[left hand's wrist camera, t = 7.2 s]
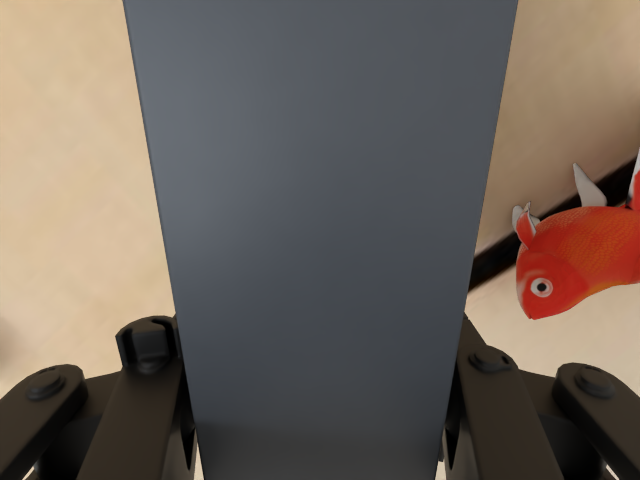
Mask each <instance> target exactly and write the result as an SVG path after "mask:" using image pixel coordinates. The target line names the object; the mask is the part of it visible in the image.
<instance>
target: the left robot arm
mask: <svg viewBox="0 0 640 480" xmlns="http://www.w3.org/2000/svg"><path fill="white" fill-rule="evenodd" d="M115 337H116V341H117V345H118V349H119V353H120V357H121V361H122V365H123V367H122V369H121V371H118V372H115V373H111V374H107V375H102V376H98V377H93V378H88V379H85V378H84V374H83V371H82V370H81V369H80V368H79V367H78V366H75V365H70V364H64V365H56V366H52V367H49V368H45V369H42V370H40V371H38V372H36V373H34V374H32V375H30V376H28V377H26V378H25V379H24V380H22V381H21V382H20V383H18V384H17V385H16V386H15V387H13V388H12V389H11V390H10V391H9V392H8V393H7V394H6V395H5V396H4V397H3V398H1V399H0V480H22V479H23V478H24V477H25V475H26V474H27V473H28V472H29V470H30V469H31V468H32V467H34V470H33V471H32V473H31V474H30V475H29V476H28V477H27V478H26V479H25V480H194V472H195V462H196V452H197V442H198V441H197V435H196V429H195V423H194V418H193V412H192V406H191V400H190V394H189V388H188V382H187V376H186V370H185V365H184V359H183V353H182V347H181V341H180V335H179V329H178V323H177V317H176V314H175V315H174V317H173V318H172V317H168V316H150V317H145V318H141V319H139V320H136V321H134V322H131V323H129V324H128V325H126V326H125V327H123V328H122V329H121V330H120V331H119V332H118V333H117V334H116V336H115ZM443 460H444V461H445V471H446V480H616V479H615V478H614V477H613V476H612V475H611V473H610V472H609V471H608V470H607V468H606V466H607V464H608V466H609V467H610V468H611V469H612V471H613V472H614V473H615V474H616V475H617V477H618V478H619V480H640V397H639V396H638V395H636V394H635V393H634V392H633V391H632V390H631V389H630V388H629V387H628V386H627V385H625V384H624V383H623V382H622V381H620V380H619V379H618V378H616V377H615V376H613V375H612V374H610V373H608V372H606V371H604V370H602V369H600V368H597V367H594V366H591V365H587V364H581V363H567V364H563V365H562V366H561V367H559V368H558V370H557V373H556V377H555V378H554V377H549V376H545V375H540V374H535V373H531V372H527V371H523V370H520V369H518V366H517V365H516V363H515V362H514V360H513V359H512V358H511V357H510V356H508V355H507V354H506V353H504V352H503V351H501V350H499V349H497V348H494V347H492V346H488V345H486V343H485V342H484V340H483V339H482V337H481V336H480V334H479V333H478V331H477V330H476V329H475V327H474V326H473V324H472V323H471V321H470V320H468V317H467V315H466V314H465V312H464V315H463V321H462V327H461V333H460V339H459V344H458V350H457V356H456V362H455V367H454V373H453V379H452V385H451V390H450V396H449V402H448V408H447V413H446V419H445V425H444V431H443V436H442V442H441V448H440V454H439V461H440V462H443Z"/></svg>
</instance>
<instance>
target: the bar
mask: <svg viewBox="0 0 640 480" xmlns="http://www.w3.org/2000/svg"><path fill="white" fill-rule="evenodd" d="M517 4H518V0H123V5H124V11H125V17H126V23H127V29H128V35H129V41H130V47H131V53H132V58H133V64H134V70H135V76H136V82H137V88H138V94H139V100H140V106H141V111H142V117H143V123H144V129H145V135H146V141H147V147H148V153H149V159H150V164H151V170H152V176H153V182H154V188H155V194H156V200H157V206H158V212H159V217H160V223H161V229H162V235H163V241H164V247H165V253H166V259H167V264H168V270H169V276H170V282H171V288H172V294H173V300H174V306H175V312H176V317H177V323H178V329H179V335H180V341H181V347H182V353H183V359H184V365H185V370H186V376H187V382H188V388H189V394H190V400H191V406H192V412H193V418H194V423H195V429H196V435H197V441H198V447H199V453H200V459H201V465H202V471H203V476H204V480H435V477H436V471H437V465H438V459H439V454H440V448H441V442H442V436H443V431H444V425H445V419H446V413H447V408H448V402H449V396H450V390H451V385H452V379H453V373H454V367H455V362H456V356H457V350H458V344H459V339H460V333H461V327H462V321H463V315H464V310H465V304H466V298H467V292H468V287H469V281H470V275H471V269H472V264H473V258H474V252H475V246H476V241H477V235H478V229H479V223H480V218H481V212H482V206H483V200H484V195H485V189H486V183H487V177H488V171H489V166H490V160H491V154H492V148H493V143H494V137H495V131H496V125H497V120H498V114H499V108H500V102H501V97H502V91H503V85H504V79H505V74H506V68H507V62H508V56H509V51H510V45H511V39H512V33H513V27H514V22H515V16H516V10H517Z"/></svg>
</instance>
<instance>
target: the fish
mask: <svg viewBox="0 0 640 480" xmlns="http://www.w3.org/2000/svg"><path fill="white" fill-rule="evenodd" d="M573 168H574V175H575V182H576V186H577V189H578V192H579V195H580V198H581V201H582V207H579V208H574V209H570V210H567V211H563V212H560V213H557V214H554V215H552V216H549V217H547V218H546V219H544V220H543V221H541V222H540V221H539V219H538V218H536V217H535V216H533V215H531V214H530V212H529V211H530V201H529V202H528V203H527V204H526V206H525V208H524V209H523V208H522V207H520V206H518V205H517V206H515V207H514V208H513V213H512V225H513V228H514V230H515V231H516V233H517V234H518V237H519V239H520V241H521V242H522V244H521V246H520V249H519V253H518V257H517V262H516V288H517V296H518V300H519V303H520V305H521V307H522V309H523V311H524V312H525V314H526V315H527V317H528V318H529V319H531V318H532V319H533V320H536V319H540V318H544V317H548V316H553V315H556V314H559V313H562V312H564V311H567V310H569V309H571V308H572V307H574V306H575V305H576V304H578V303H579V302H581V301H582V300H583V299H585V298H586V297H588V296H590V295H593V294H595V293H597V292H599V291H602V290H605V289H607V288H609V287H612V286H617V285H628V284H636V283H640V149H639V153H638V157H637V161H636V165H635V169H634V173H633V177H632V181H631V184H630V188H629V192H628V195H627V199H626V203H625V204H624V205H622V206H621V207H607V200H606V197H605V196H604V194H603V193H602V192H601V190H600V189H599V188H598V187H597V186H596V185H595V184H594V183H593V182H592V181H591V180H590V179H589V178H588V177H587V175H586V174H585V173H584V172H583V171H582V169H581V168H580V167H579V166H578V164H577V163H574V164H573Z"/></svg>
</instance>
